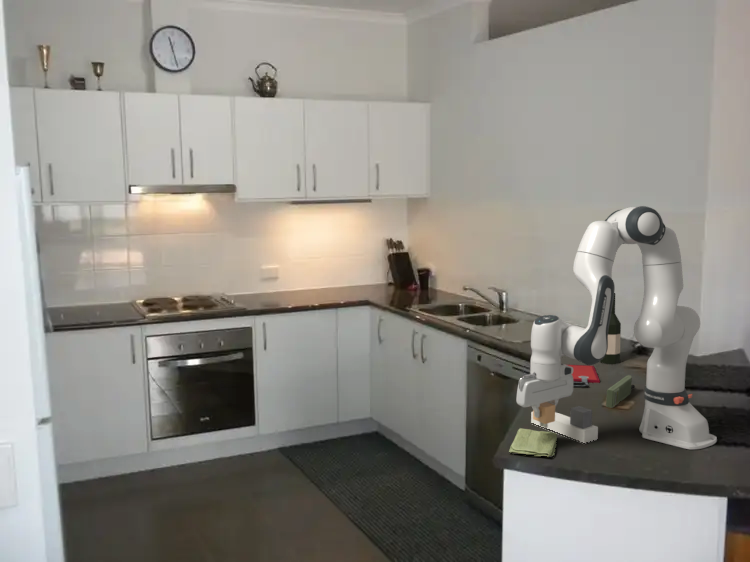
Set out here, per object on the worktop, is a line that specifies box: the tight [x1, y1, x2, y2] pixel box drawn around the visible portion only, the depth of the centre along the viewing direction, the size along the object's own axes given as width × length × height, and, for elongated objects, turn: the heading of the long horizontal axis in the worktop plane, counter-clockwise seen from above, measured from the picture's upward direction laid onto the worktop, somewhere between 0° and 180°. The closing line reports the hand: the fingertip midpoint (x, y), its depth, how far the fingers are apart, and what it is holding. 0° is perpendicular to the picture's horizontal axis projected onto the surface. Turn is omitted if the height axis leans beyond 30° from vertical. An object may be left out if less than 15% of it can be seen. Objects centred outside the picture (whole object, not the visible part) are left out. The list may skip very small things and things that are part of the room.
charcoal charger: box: [569, 405, 593, 429], centre depth 228 cm, size 5×4×7 cm
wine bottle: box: [599, 292, 622, 365], centre depth 312 cm, size 8×8×30 cm
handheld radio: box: [605, 374, 636, 409], centre depth 266 cm, size 7×3×25 cm
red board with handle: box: [567, 364, 600, 388], centre depth 293 cm, size 30×3×15 cm
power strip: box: [530, 411, 599, 444], centre depth 235 cm, size 22×6×5 cm, turn 33°
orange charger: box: [532, 401, 556, 429], centre depth 223 cm, size 5×4×7 cm
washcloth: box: [508, 427, 558, 458], centre depth 223 cm, size 13×18×3 cm
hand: (544, 415), depth 223 cm, fingers closed on orange charger, 4 cm apart
